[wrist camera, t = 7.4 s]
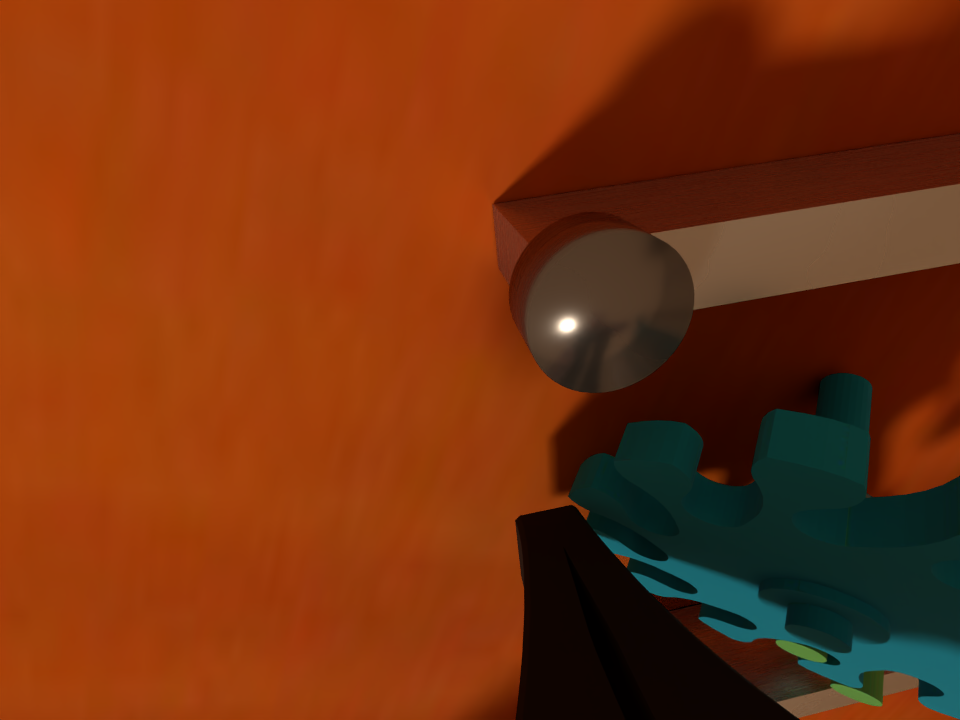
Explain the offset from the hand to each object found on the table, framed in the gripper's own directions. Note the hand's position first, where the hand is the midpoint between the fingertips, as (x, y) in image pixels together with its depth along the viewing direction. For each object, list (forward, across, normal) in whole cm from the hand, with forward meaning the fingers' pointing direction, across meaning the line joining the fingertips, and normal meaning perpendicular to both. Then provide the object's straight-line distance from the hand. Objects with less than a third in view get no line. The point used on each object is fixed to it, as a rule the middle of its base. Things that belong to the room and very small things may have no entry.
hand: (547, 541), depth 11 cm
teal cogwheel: (+2, -5, 0) cm, 5 cm away
